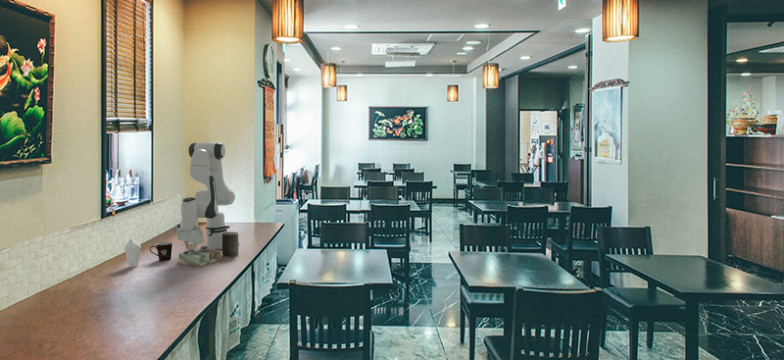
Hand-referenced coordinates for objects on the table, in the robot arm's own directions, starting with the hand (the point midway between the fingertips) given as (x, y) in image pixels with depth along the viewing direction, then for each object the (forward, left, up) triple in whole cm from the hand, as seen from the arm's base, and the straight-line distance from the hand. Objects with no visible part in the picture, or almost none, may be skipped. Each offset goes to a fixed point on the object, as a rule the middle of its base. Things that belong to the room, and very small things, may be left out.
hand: (190, 249), depth 270 cm
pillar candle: (-25, +4, -8) cm, 27 cm away
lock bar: (-5, 0, -2) cm, 5 cm away
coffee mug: (+5, -20, -8) cm, 22 cm away
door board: (-5, +2, -8) cm, 10 cm away
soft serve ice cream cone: (+23, -20, -8) cm, 31 cm away
